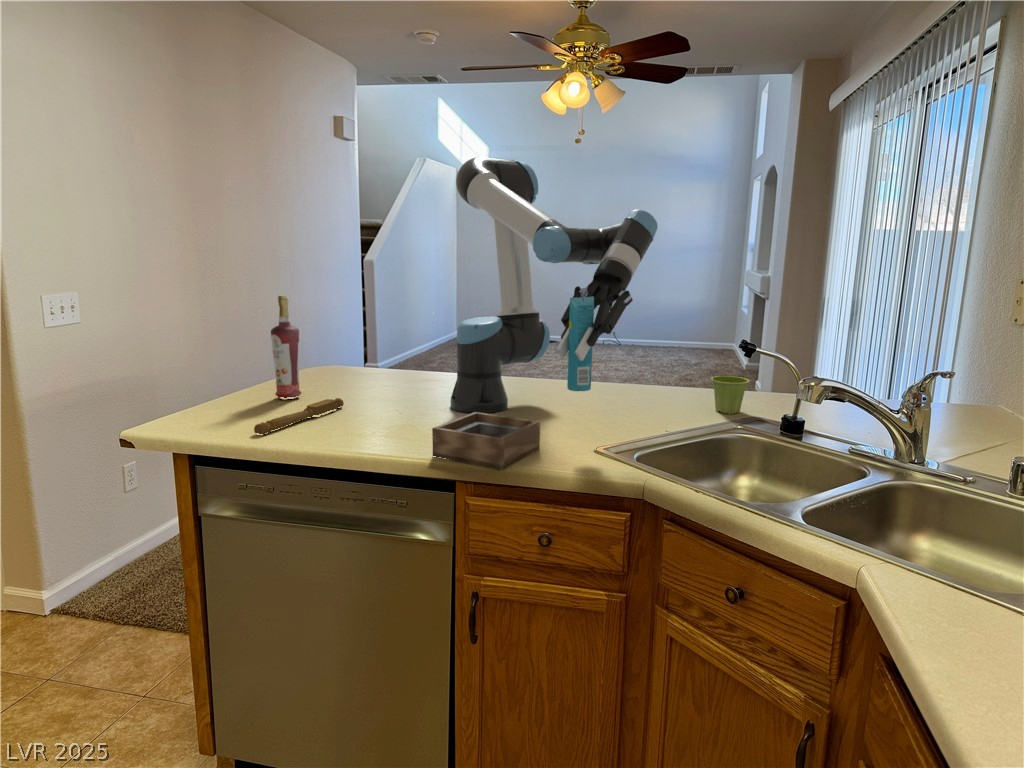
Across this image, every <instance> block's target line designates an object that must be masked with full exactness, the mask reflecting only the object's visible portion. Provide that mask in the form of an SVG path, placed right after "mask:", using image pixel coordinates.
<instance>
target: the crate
mask: <svg viewBox="0 0 1024 768" xmlns="http://www.w3.org/2000/svg"><path fill="white" fill-rule="evenodd" d="M431 431H432V434H431V435H432V457H433V456H436V457H441V458H446V459H449V460H448V461H451V460H452V462H456V463H462V464H467V465H474V466H477V467H482V468H487V469H493V470H498V471H503V470H504V469H505V470H506V468H508V467H510V466H512V465H514V464H515V463H517V462H519V461H521V460H522V459H523V460H524V458H526V457H528V456H530V455H532V454H533V452H534V453H535V452H537V451H539V450H540V445H541V444H540V443H541V441H540V439H541V421H539V420H533V419H526V418H520V417H519V418H518V417H511V416H505V415H498V414H493V413H491V414H490V413H479V412H473V413H467V414H466V415H464V416H461V417H457V418H456V419H452V420H451V421H448V422H445V423H442V424H439V425H437V426H434V427H432V430H431ZM436 457H435V458H436ZM441 458H440V459H441ZM446 459H445V460H446Z"/></svg>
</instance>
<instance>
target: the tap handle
mask: <svg viewBox="0 0 1024 768" xmlns="http://www.w3.org/2000/svg"><path fill="white" fill-rule="evenodd" d="M344 404H345V403H344V400H343V399H341V398H339V397H338V398H337V397H336V398H335V399H323V400H320V401H318V402H317V401H316V402H314V403H311V404H308V405H307V406H306V407H305V408H304V409H303V410H302V411H301V410H300V411H297V412H294V413H293V412H292V413H290V414H287V415H282V416H279V417H276V418H273V419H269V420H267V421H265V422H263V421H262V422H260V423H256V425H254V428H253V431H254V433H259V434H265V433H267V432H269V433H271V432H270V431H271V430H275V429H278V428H281V427H284V426H286V425H289V424H291V423H294V422H297V421H299V420H302V419H305V418H307V417H312V416H313V415H319V414H322V413H325V412H327V411H330V410H334V409H337V408H338V407H340V406H343V407H344ZM337 410H338V409H337ZM305 420H306V419H305ZM302 421H303V420H302Z"/></svg>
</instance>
